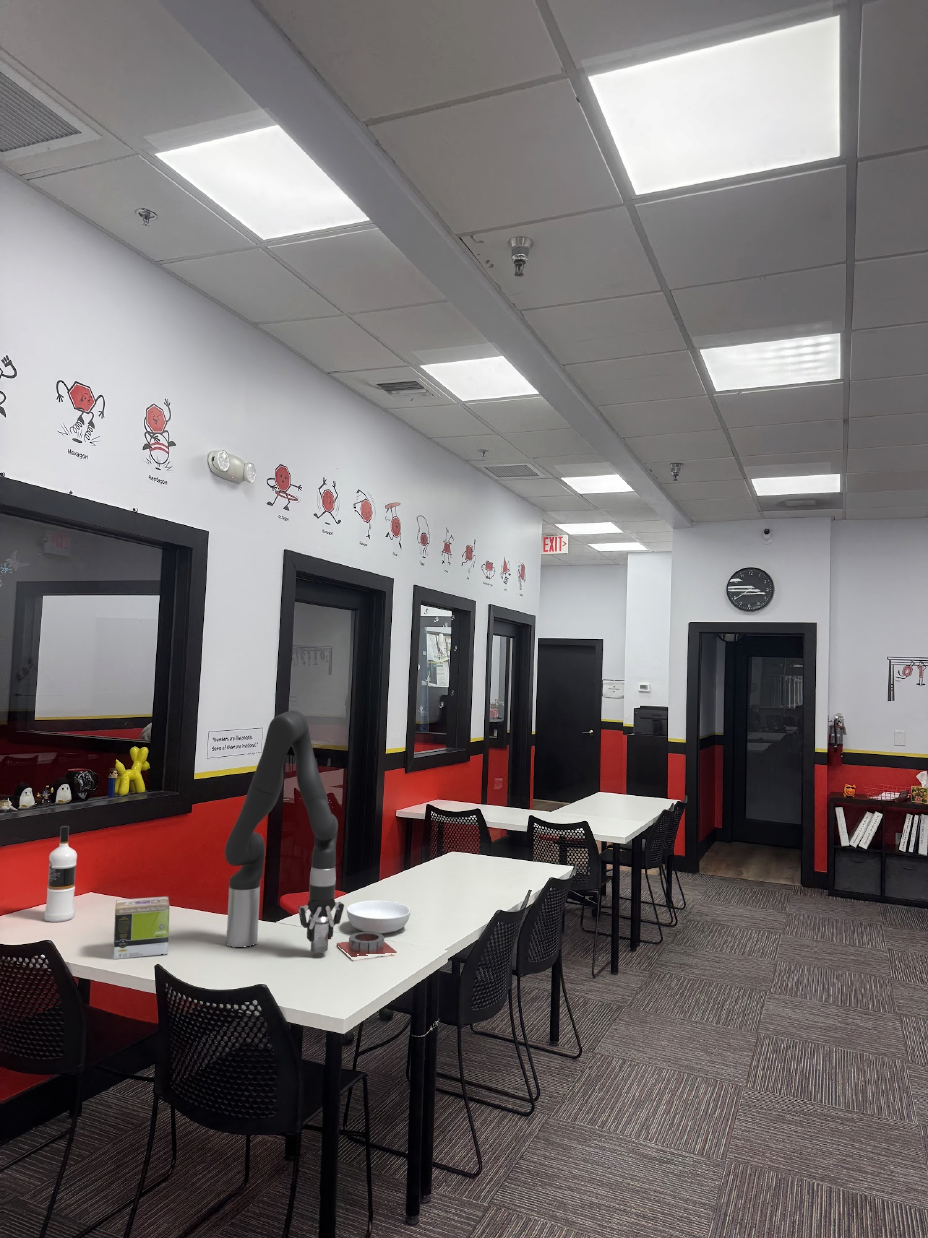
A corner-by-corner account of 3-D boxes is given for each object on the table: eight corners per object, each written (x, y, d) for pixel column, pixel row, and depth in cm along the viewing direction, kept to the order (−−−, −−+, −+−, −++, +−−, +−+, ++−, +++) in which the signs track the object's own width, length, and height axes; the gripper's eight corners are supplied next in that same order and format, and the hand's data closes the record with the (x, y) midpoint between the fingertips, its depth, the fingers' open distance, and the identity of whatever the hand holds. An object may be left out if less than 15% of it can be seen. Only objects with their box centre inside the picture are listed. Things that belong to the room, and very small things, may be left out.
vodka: (75, 921, 279) (81, 828, 281) (44, 924, 275) (49, 829, 276) (73, 913, 287) (79, 823, 289) (43, 916, 283) (48, 824, 285)
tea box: (166, 944, 259) (169, 895, 260) (168, 955, 250) (170, 904, 251) (113, 949, 254) (116, 898, 255) (112, 960, 245) (115, 907, 245)
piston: (308, 948, 255) (309, 914, 256) (324, 946, 257) (326, 912, 258) (313, 953, 251) (315, 919, 251) (330, 951, 253) (332, 917, 253)
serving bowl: (379, 944, 266) (380, 922, 267) (332, 930, 279) (333, 908, 279) (422, 929, 283) (423, 908, 283) (376, 916, 296) (377, 896, 296)
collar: (336, 946, 263) (337, 933, 263) (379, 941, 269) (379, 928, 270) (352, 961, 251) (353, 947, 251) (396, 955, 257) (397, 941, 257)
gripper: (340, 877, 262) (338, 933, 261) (295, 881, 255) (292, 939, 254) (349, 883, 255) (346, 941, 254) (303, 887, 248) (300, 947, 247)
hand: (319, 939), depth 254 cm, fingers closed on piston, 5 cm apart
